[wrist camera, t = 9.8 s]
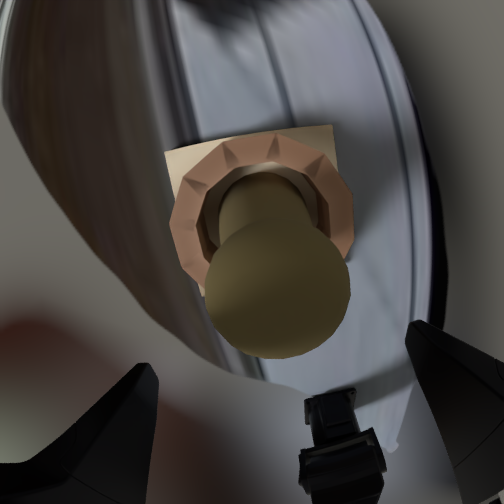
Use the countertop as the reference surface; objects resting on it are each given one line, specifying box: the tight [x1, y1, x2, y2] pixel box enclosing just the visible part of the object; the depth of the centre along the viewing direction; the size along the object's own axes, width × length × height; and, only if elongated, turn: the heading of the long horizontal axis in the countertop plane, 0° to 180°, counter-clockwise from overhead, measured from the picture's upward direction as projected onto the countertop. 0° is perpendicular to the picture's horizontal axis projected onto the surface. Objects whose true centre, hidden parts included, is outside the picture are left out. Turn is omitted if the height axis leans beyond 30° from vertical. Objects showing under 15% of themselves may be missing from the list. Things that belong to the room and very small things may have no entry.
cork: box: [205, 172, 351, 359], centre depth 13 cm, size 6×6×11 cm
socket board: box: [165, 125, 354, 296], centre depth 17 cm, size 11×11×4 cm
